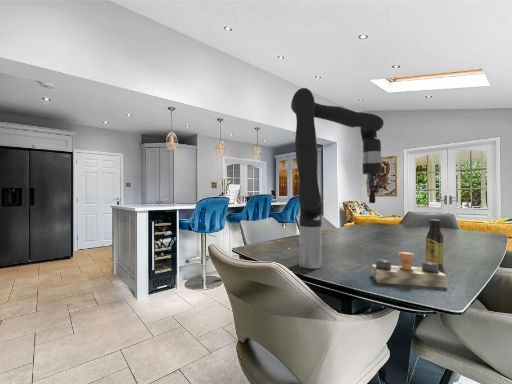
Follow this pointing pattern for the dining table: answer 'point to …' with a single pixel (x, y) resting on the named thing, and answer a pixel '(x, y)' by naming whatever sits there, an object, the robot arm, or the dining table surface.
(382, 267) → the left knob
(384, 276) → the knob mount
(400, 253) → the middle knob
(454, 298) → the dining table surface
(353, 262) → the dining table surface
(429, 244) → the sauce bottle
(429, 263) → the right knob
